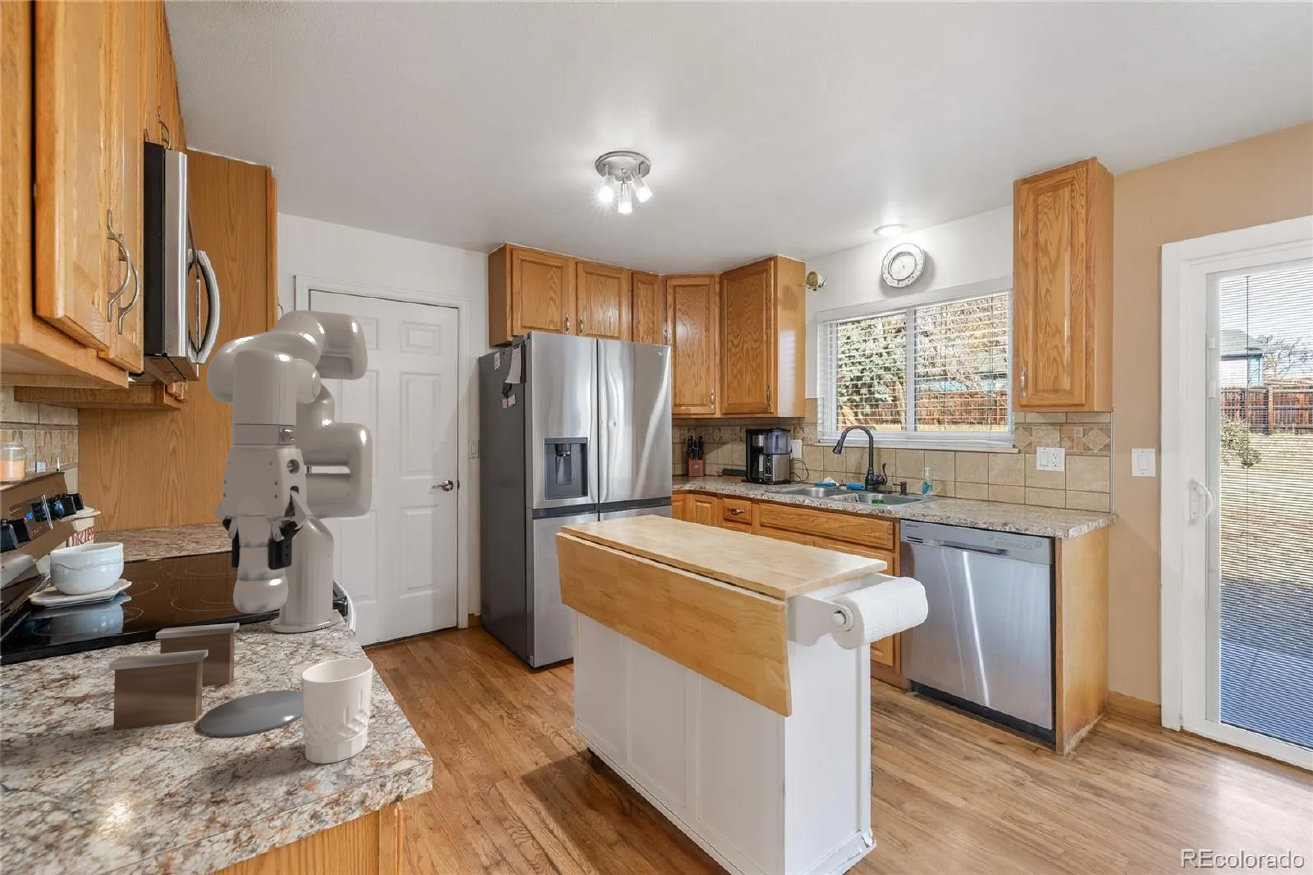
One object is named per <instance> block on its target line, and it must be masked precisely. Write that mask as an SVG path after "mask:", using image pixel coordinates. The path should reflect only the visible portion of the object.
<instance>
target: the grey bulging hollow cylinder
mask: <svg viewBox="0 0 1313 875" xmlns="http://www.w3.org/2000/svg"><path fill="white" fill-rule="evenodd" d="M235 510H236V515H237V517H236V519H237V526H238V533H239V546H240V549H239V553H240V557H239V566H238V568H237V575H236V579H237V580H236V581H235V584H234V589H233V595H232V599H233V605H234V607H235V609H236V610H237V611H238V612H239V613H241V614H264V613H268V612H272V611H275V610H280V608H281V607H282V606H283V605H284V603H285V602H286V600H287V595H288V584H287V578H286V576H285V568H281V569H277V570H271V569H270V568H269V560H270V541H274V540H275V539H274V536H273V532H272V529H271V525H272V520H270V519H268V518H266V510H265V508H264V506H263V504H262V503H261V502H260V501H259V500H258V499H257V498H255V497H254V496H245V497H243V498H242V499H240V500H239V501H238V503H237V505H236V508H235ZM286 513H287V511H285V515H284V516H286ZM284 516H283V517H284ZM281 525H282V529H283V527H284V526H285V521H284V522H281Z"/></svg>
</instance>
